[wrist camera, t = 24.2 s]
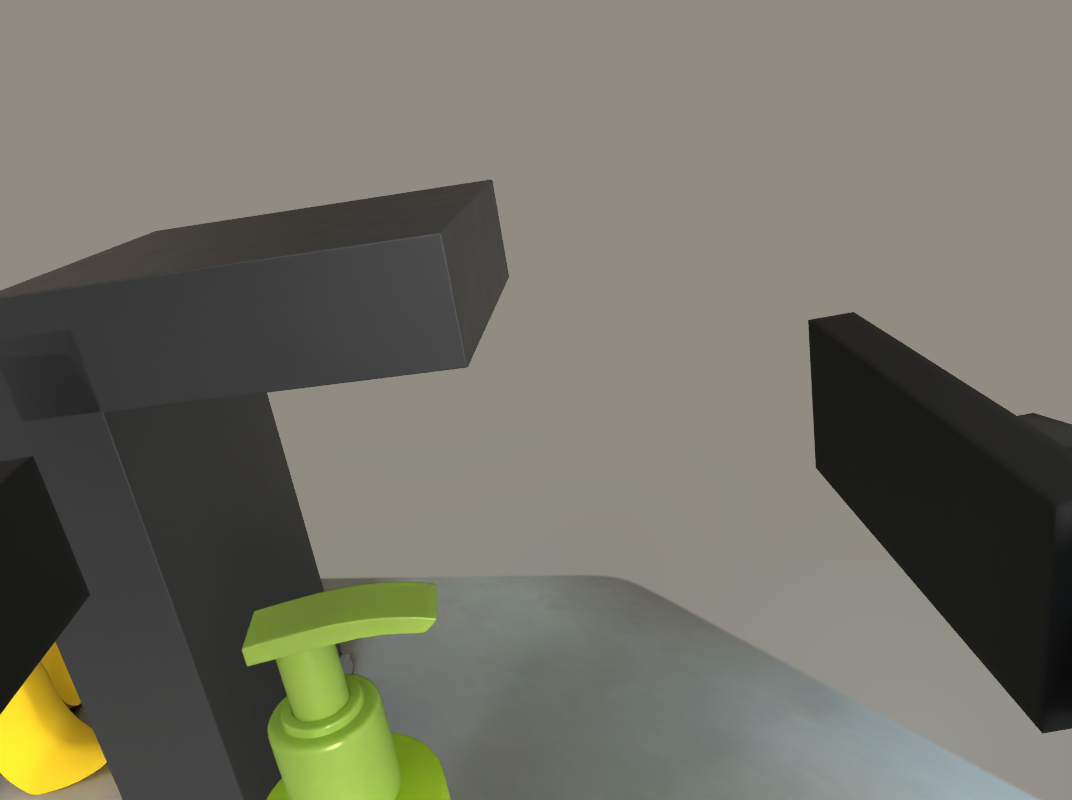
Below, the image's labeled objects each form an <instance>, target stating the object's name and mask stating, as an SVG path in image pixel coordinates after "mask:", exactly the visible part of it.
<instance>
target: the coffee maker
mask: <svg viewBox="0 0 1072 800" xmlns="http://www.w3.org/2000/svg"><path fill="white" fill-rule="evenodd" d="M508 277H509V275H508V269H507V263H506V257H505V252H504V246H503V240H502V234H501V228H500V222H499V216H498V211H497V205H496V199H495V194H494V187H493V182H492V180H486V181H479V182H473V183H466V184H460V185H454V186H447V187H440V188H434V189H427V190H420V191H414V192H407V193H401V194H395V195H388V196H381V197H375V198H368V199H362V200H356V201H349V202H343V203H336V204H329V205H323V206H316V207H310V208H304V209H297V210H290V211H284V212H278V213H271V214H264V215H258V216H252V217H245V218H238V219H232V220H225V221H219V222H212V223H206V224H199V225H193V226H186V227H180V228H174V229H167V230H161V231H155V232H152V233H150V234H148V235H145V236H142V237H140V238H137V239H134V240H132V241H129V242H126V243H124V244H121V245H119V246H116V247H113V248H111V249H108V250H105V251H103V252H100V253H98V254H95V255H92V256H90V257H87V258H85V259H82V260H80V261H77V262H74V263H72V264H69V265H67V266H64V267H62V268H59V269H56V270H53V271H51V272H48V273H46V274H43V275H40V276H38V277H35V278H32V279H30V280H27V281H25V282H22V283H19V284H17V285H14V286H12V287H9V288H6V289H4V290H1V291H0V462H1V461H7V460H13V459H18V458H24V457H30V456H34V459H35V461H36V464H37V466H38V469H39V471H40V473H41V476H42V478H43V481H44V483H45V486H46V488H47V490H48V493H49V495H50V498H51V500H52V503H53V505H54V507H55V510H56V512H57V515H58V517H59V520H60V522H61V524H62V527H63V529H64V532H65V534H66V537H67V539H68V541H69V544H70V546H71V549H72V551H73V554H74V556H75V558H76V561H77V563H78V566H79V568H80V571H81V573H82V575H83V578H84V580H85V583H86V585H87V588H88V590H89V592H90V596H89V597H88V598H87V600H86V601H85V602H84V604H83V605H82V606H81V608H80V609H79V610H78V612H77V613H76V614H75V616H74V617H73V618H72V620H71V621H70V622H69V624H68V625H67V626H66V628H65V629H64V630H63V632H62V633H61V634H60V636H59V637H58V638H57V640H56V641H55V642H56V645H57V647H58V649H59V652H60V654H61V656H62V659H63V661H64V663H65V666H66V668H67V670H68V673H69V675H70V677H71V680H72V682H73V684H74V687H75V689H76V691H77V694H78V696H79V698H80V701H81V703H82V705H83V708H84V710H85V712H86V715H87V717H88V719H89V722H90V724H91V726H92V729H93V731H94V733H95V736H96V738H97V740H98V743H99V745H100V747H101V750H102V752H103V754H104V757H105V759H106V761H107V764H108V766H109V768H110V771H111V773H112V776H113V778H114V780H115V783H116V785H117V787H118V790H119V792H120V794H121V797H122V799H123V800H266V799H267V797H268V796H269V794H270V793H271V791H272V790H273V788H274V787H275V786H276V784H277V783H278V782H279V781H280V780H281V779H282V777H281V774H280V771H279V768H278V765H277V762H276V759H275V756H274V753H273V750H272V748H271V745H270V741H269V738H268V722H269V719H270V717H271V715H272V713H273V711H274V710H275V708H276V707H277V705H278V704H279V703H280V702H281V701H282V700H283V699H284V698H285V697H286V696H287V694H286V691H285V687H284V684H283V681H282V678H281V675H280V672H279V669H278V666H277V663H276V660H275V659H274V660H270V661H266V662H263V663H259V664H255V665H251V666H247V665H246V662H245V659H244V656H243V653H242V647H243V644H244V641H245V638H246V635H247V632H248V629H249V626H250V623H251V619H252V616H253V613H254V611H257V610H260V609H263V608H267V607H270V606H273V605H277V604H280V603H284V602H287V601H291V600H294V599H298V598H301V597H305V596H309V595H312V594H316V593H320V592H324V590H323V586H322V583H321V579H320V576H319V573H318V569H317V566H316V563H315V559H314V555H313V552H312V548H311V545H310V541H309V538H308V535H307V531H306V527H305V524H304V520H303V517H302V513H301V510H300V507H299V503H298V500H297V496H296V493H295V489H294V486H293V482H292V479H291V475H290V472H289V468H288V465H287V461H286V458H285V454H284V451H283V448H282V444H281V440H280V437H279V433H278V430H277V427H276V423H275V420H274V416H273V413H272V409H271V406H270V402H269V399H268V395H267V392H274V391H282V390H290V389H297V388H306V387H314V386H322V385H330V384H338V383H345V382H354V381H362V380H370V379H377V378H386V377H394V376H402V375H410V374H418V373H426V372H434V371H442V370H450V369H458V368H466V367H468V365H469V363H470V361H471V359H472V356H473V354H474V352H475V350H476V348H477V345H478V343H479V341H480V339H481V337H482V334H483V332H484V330H485V328H486V326H487V323H488V321H489V319H490V317H491V315H492V313H493V310H494V308H495V306H496V304H497V302H498V299H499V297H500V295H501V293H502V291H503V289H504V286H505V283H506V282H507V280H508ZM336 648H337V651H338V655H339V658H340V662H341V665H342V668H343V672H344V674H352V672H353V669H354V668H353V664H352V661H351V657H350V654H342V653H341V649H340V646H339V643H337V644H336Z"/></svg>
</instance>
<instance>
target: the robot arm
mask: <svg viewBox="0 0 1072 800" xmlns="http://www.w3.org/2000/svg"><path fill="white" fill-rule="evenodd" d="M808 323H809V342H810V361H811V379H812V400H813V418H814V437H815V458H816V468H817V469H818V471H819V472H820V473H821V474H822V475H823V477H824V478H825V479H826V480H827V481H828V482H829V484H830V485H831V486H832V487H833V488H834V489H835V491H836V492H837V493H838V494H839V495H840V496H841V498H842V499H843V500H844V501H845V502H846V504H847V505H848V506H849V507H850V508H851V509H852V510H853V512H854V513H855V514H856V515H857V516H858V518H859V519H860V520H861V521H862V522H863V523H864V524H865V526H866V527H867V528H868V529H869V530H870V532H871V533H872V534H873V535H874V536H875V537H876V539H877V540H878V541H879V542H880V543H881V545H882V546H883V547H884V548H885V549H886V550H887V551H888V553H889V554H890V555H891V556H892V557H893V559H894V560H895V561H896V562H897V563H898V564H899V566H900V567H901V568H902V569H903V570H904V572H905V573H906V574H907V575H908V576H909V577H910V578H911V580H912V581H913V582H914V583H915V584H916V586H917V587H918V588H919V589H920V590H921V591H922V593H923V594H924V595H925V596H926V597H927V598H928V600H929V601H930V602H931V603H932V604H933V605H934V607H935V608H936V609H937V610H938V611H939V613H940V614H941V615H942V616H943V617H944V618H945V620H946V621H947V622H948V623H949V624H950V625H951V627H952V628H953V629H954V630H955V631H956V632H957V634H958V635H959V636H960V637H961V638H962V639H963V641H964V642H965V643H966V644H967V645H968V647H969V648H970V649H971V650H972V651H973V652H974V654H975V655H976V656H977V657H978V658H979V659H980V660H981V662H982V663H983V664H984V665H985V666H986V668H987V669H988V670H989V671H990V672H991V673H992V675H993V676H994V677H995V678H996V679H997V680H998V682H999V683H1000V684H1001V685H1002V686H1003V688H1004V689H1005V690H1006V691H1007V692H1008V693H1009V694H1010V696H1011V697H1012V698H1013V699H1014V700H1015V701H1016V703H1017V704H1018V705H1019V706H1020V707H1021V709H1022V710H1023V711H1024V712H1025V713H1026V715H1027V716H1028V717H1029V718H1030V719H1031V720H1032V721H1033V723H1034V724H1035V725H1036V726H1037V727H1038V728H1039V730H1040V731H1041V732H1042V733H1047V732H1053V731H1058V730H1065V729H1071V728H1072V425H1071V424H1068V423H1065V422H1062V421H1058V420H1054V419H1051V418H1048V417H1045V416H1041V415H1038V414H1035V413H1031V414H1026V415H1020V416H1016V415H1014V414H1013V413H1011V412H1010V411H1008V410H1006V409H1005V408H1003V407H1002V406H1000V405H999V404H997V403H995V402H994V401H992V400H991V399H989V398H988V397H986V396H984V395H983V394H981V393H980V392H978V391H976V390H975V389H973V388H972V387H970V386H969V385H967V384H966V383H964V382H962V381H961V380H959V379H958V378H956V377H954V376H953V375H951V374H950V373H948V372H947V371H945V370H944V369H942V368H941V367H939V366H937V365H936V364H934V363H932V362H931V361H929V360H928V359H926V358H925V357H923V356H922V355H920V354H918V353H917V352H915V351H914V350H912V349H911V348H909V347H907V346H906V345H904V344H903V343H901V342H900V341H898V340H896V339H895V338H893V337H892V336H890V335H889V334H887V333H885V332H884V331H882V330H881V329H879V328H877V327H876V326H875V325H873V324H871V323H870V322H868V321H866V320H865V319H864V318H862V317H860V316H859V315H857V314H856V313H854V312H852V313H847V314H841V315H835V316H829V317H824V318H818V319H812V320H808ZM89 596H90V592H89V590H88V588H87V585H86V583H85V580H84V578H83V575H82V573H81V571H80V568H79V566H78V563H77V561H76V558H75V556H74V554H73V551H72V549H71V546H70V544H69V541H68V539H67V537H66V534H65V532H64V529H63V527H62V524H61V522H60V520H59V517H58V515H57V512H56V510H55V507H54V505H53V503H52V500H51V498H50V495H49V493H48V490H47V488H46V486H45V483H44V481H43V478H42V476H41V473H40V471H39V469H38V466H37V464H36V461H35V459H34V456H30V457H24V458H18V459H13V460H7V461H1V462H0V714H1V713H2V712H3V710H4V709H5V708H6V706H7V705H8V704H9V702H10V701H11V700H12V698H13V697H14V696H15V694H16V693H17V692H18V690H19V689H20V688H21V686H22V685H23V684H24V682H25V681H26V680H27V678H28V677H29V676H30V674H31V673H32V672H33V670H34V669H35V668H36V666H37V665H38V664H39V662H40V661H41V660H42V658H43V657H44V656H45V654H46V653H47V652H48V650H49V649H50V648H51V646H52V645H53V644H54V642H55V641H56V640H57V638H58V637H59V636H60V634H61V633H62V632H63V630H64V629H65V628H66V626H67V625H68V624H69V622H70V621H71V620H72V618H73V617H74V616H75V614H76V613H77V612H78V610H79V609H80V608H81V606H82V605H83V604H84V602H85V601H86V600H87V598H88V597H89Z"/></svg>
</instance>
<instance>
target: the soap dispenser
mask: <svg viewBox="0 0 1072 800" xmlns="http://www.w3.org/2000/svg"><path fill="white" fill-rule="evenodd" d="M436 619H437V599H436V585H435V584H433V583H423V582H384V583H371V584H362V585H355V586H349V587H343V588H338V589H333V590H329V591H324V592H320V593H316V594H312V595H309V596H305V597H301V598H298V599H294V600H291V601H287V602H284V603H280V604H277V605H273V606H270V607H267V608H263V609H260V610H257V611H254V613H253V616H252V619H251V623H250V626H249V629H248V632H247V635H246V638H245V641H244V644H243V647H242V653H243V656H244V659H245V662H246V665H247V666H251V665H255V664H259V663H263V662H266V661H270V660H274V659H275V660H276V663H277V666H278V669H279V672H280V675H281V678H282V681H283V684H284V687H285V691H286V694H287V696H286V697H285V698H284V699H283V700H282V701H281V702H280V703H279V704H278V705H277V707H276V708H275V710H274V711H273V713H272V715H271V717H270V719H269V722H268V738H269V741H270V745H271V748H272V750H273V753H274V756H275V759H276V762H277V765H278V768H279V771H280V774H281V777H282V779H281V780H280V781H279V782H278V783H277V784H276V786H275V787H274V788H273V790H272V791H271V793H270V794H269V796H268V797H267V799H266V800H451V799H450V795H449V791H448V787H447V783H446V779H445V776H444V772H443V768H442V765H441V763H440V761H439V759H438V757H437V756H436V754H435V753H434V752H433V751H432V750H431V749H430V748H429V747H428V746H427V745H425V744H424V743H422V742H421V741H419V740H417V739H415V738H412V737H410V736H407V735H403V734H398V733H391V732H390V728H389V724H388V721H387V717H386V713H385V710H384V706H383V703H382V699H381V696H380V693H379V691H378V689H377V687H376V685H375V684H374V683H373V682H372V681H370V680H369V679H367V678H365V677H363V676H360V675H356V674H344V672H343V668H342V665H341V662H340V658H339V655H338V651H337V648H336V644H337V643H341V642H346V641H350V640H355V639H360V638H365V637H371V636H378V635H388V634H404V633H424V632H426V631H428V629H429V628H430V627H431V626H432V625H433V623H434V622H435V621H436Z"/></svg>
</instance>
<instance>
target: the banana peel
mask: <svg viewBox="0 0 1072 800" xmlns="http://www.w3.org/2000/svg"><path fill="white" fill-rule="evenodd" d="M79 704H81V701H80V698H79V696H78V694H77V691H76V689H75V687H74V684H73V682H72V680H71V677H70V675H69V673H68V670H67V668H66V666H65V663H64V661H63V659H62V656H61V654H60V652H59V649H58V647H57V645H56V642H54V644H53V645H52V646H51V648H50V649H49V650H48V652H47V653H46V654H45V656H44V657H43V658H42V660H41V661H40V662H39V664H38V665H37V666H36V668H35V669H34V670H33V672H32V673H31V674H30V676H29V677H28V678H27V680H26V681H25V682H24V684H23V685H22V686H21V688H20V689H19V690H18V692H17V693H16V694H15V696H14V697H13V698H12V700H11V701H10V702H9V704H8V705H7V706H6V708H5V709H4V710H3V712H2V713H1V714H0V773H1V774H2V775H3V776H4V777H5V778H6V779H7V780H9V781H10V782H11V783H12V784H14V785H15V786H16V787H18V788H20V789H21V790H23V791H25V792H27V793H29V794H32V795H38V794H43V793H47V792H51V791H55V790H58V789H61V788H64V787H67V786H69V785H72V784H74V783H76V782H78V781H80V780H82V779H84V778H86V777H88V776H89V775H91V774H93V773H94V772H96V771H97V770H99V769H100V768H101V767H103V766H104V765H105V764H106V763H107V761H106V759H105V757H104V754H103V752H102V750H101V747H100V745H99V743H98V740H97V738H96V736H95V733H94V731H93V729H92V728H91V727H89V726H88V725H86V724H85V723H83V722H82V721H81V720H80V719H78V718H77V717H76V716H75V715H74V714H73V713H72V712H71V711H70V710H69V709H68V708H71V707H75V706H78V705H79Z"/></svg>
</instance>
